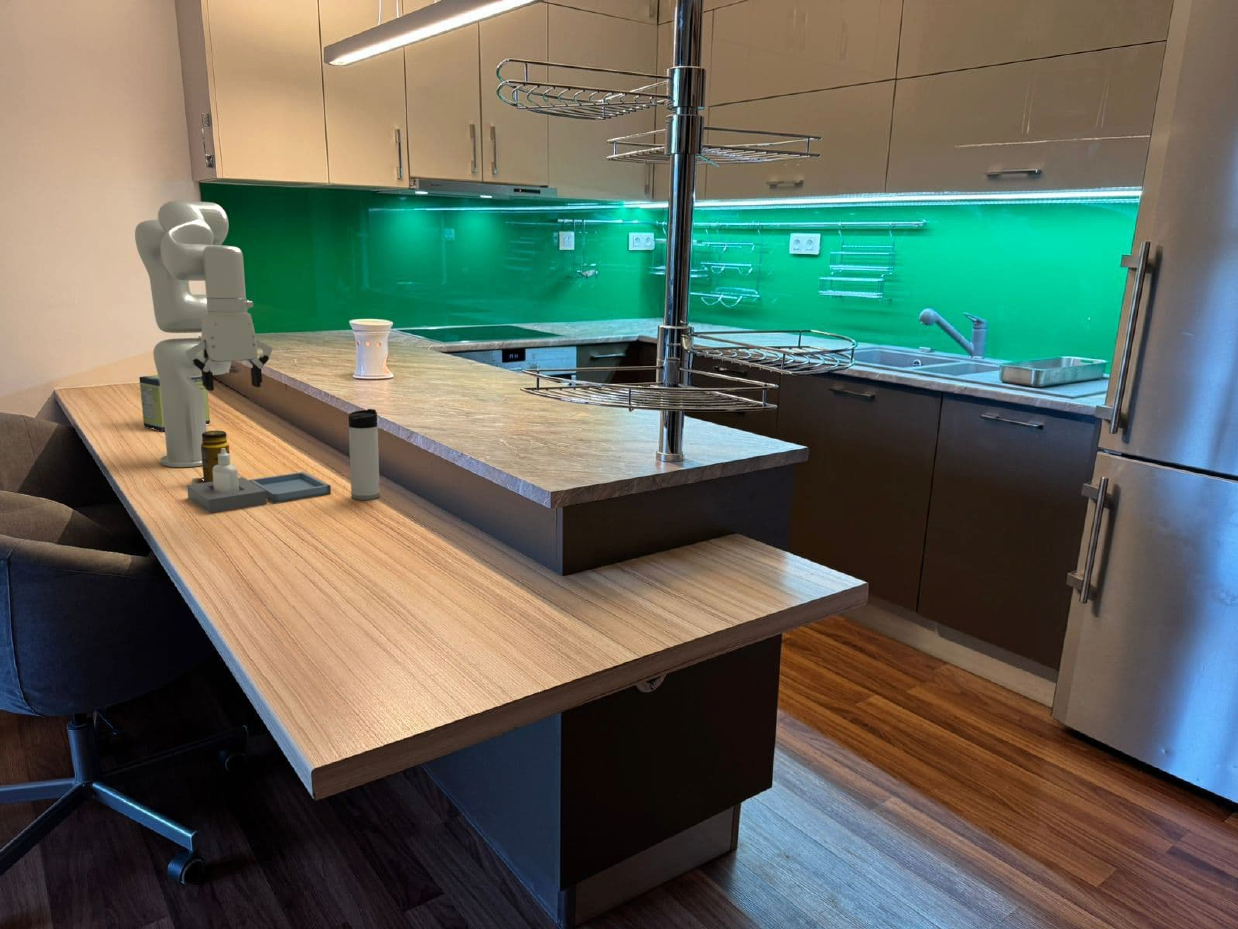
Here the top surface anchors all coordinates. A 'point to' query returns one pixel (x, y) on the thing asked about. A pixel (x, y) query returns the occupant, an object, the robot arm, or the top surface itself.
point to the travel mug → (364, 454)
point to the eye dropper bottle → (225, 474)
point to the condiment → (211, 453)
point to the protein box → (154, 401)
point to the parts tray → (292, 487)
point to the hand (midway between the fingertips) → (233, 388)
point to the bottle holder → (226, 496)
